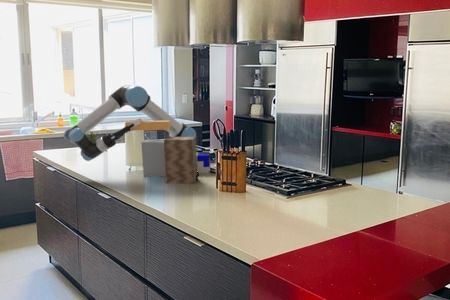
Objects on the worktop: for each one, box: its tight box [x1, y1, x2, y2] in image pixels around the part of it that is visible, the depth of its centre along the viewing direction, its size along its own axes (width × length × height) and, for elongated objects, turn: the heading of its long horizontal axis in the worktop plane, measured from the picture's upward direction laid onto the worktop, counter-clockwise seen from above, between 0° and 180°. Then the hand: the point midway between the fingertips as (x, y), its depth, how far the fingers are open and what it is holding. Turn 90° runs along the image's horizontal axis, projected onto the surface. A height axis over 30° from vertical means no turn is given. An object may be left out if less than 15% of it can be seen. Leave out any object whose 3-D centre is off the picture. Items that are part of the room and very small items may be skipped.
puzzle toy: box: [196, 151, 211, 174], centre depth 274 cm, size 10×10×10 cm
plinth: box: [140, 139, 166, 177], centre depth 268 cm, size 16×9×19 cm, turn 82°
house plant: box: [86, 130, 102, 142], centre depth 339 cm, size 14×14×16 cm
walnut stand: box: [163, 136, 198, 184], centre depth 251 cm, size 15×9×23 cm, turn 82°
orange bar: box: [124, 120, 171, 132], centre depth 258 cm, size 24×4×4 cm, turn 83°
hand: (140, 120), depth 258 cm, fingers closed on orange bar, 4 cm apart
